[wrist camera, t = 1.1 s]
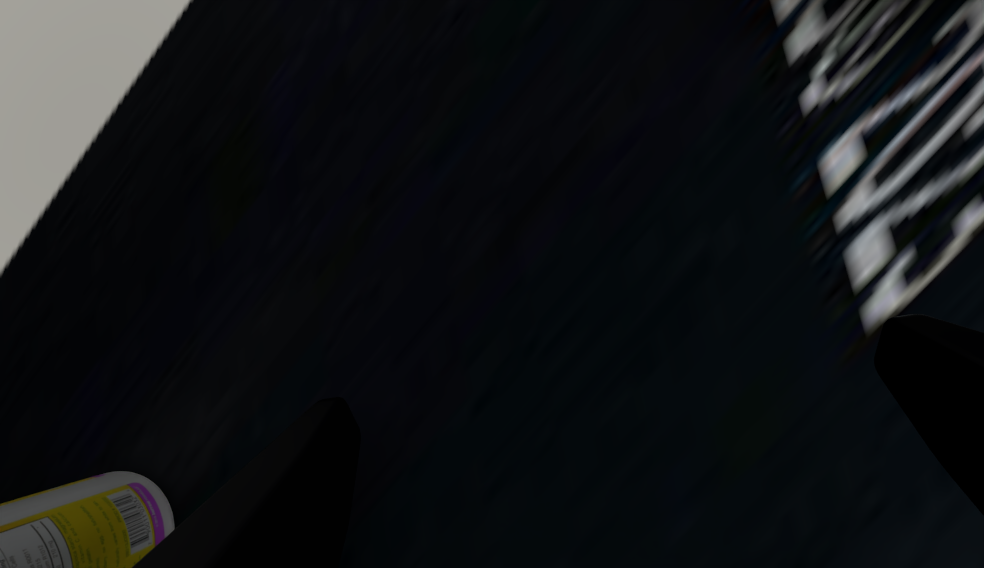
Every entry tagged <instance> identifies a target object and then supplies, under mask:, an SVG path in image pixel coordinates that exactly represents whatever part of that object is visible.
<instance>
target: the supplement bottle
mask: <svg viewBox="0 0 984 568" xmlns="http://www.w3.org/2000/svg"><path fill="white" fill-rule="evenodd" d="M174 529H175V525H174V518H173V513H172V510H171V507H170V504H169V502H168V500H167V498H166V496H165V495H164V493H163V492H162V491H161V489H160V488H159V487H158V486H157V485H156V484H155V483H154V482H152V481H151V480H149V479H148V478H146V477H144V476H142V475H140V474H137V473H133V472H127V471H115V472H109V473H104V474H101V475H97V476H93V477H90V478H86V479H83V480H79V481H76V482H72V483H69V484H65V485H62V486H59V487H56V488H52V489H49V490H46V491H42V492H39V493H35V494H32V495H29V496H25V497H22V498H18V499H15V500H12V501H8V502H5V503H2V504H0V568H132V567H133V566H134V565H135V564H136V563H137V562H138V561H140V560H141V559H142V558H143V557H144V556H145V555H146V554H147V553H148V552H150V551H151V550H152V549H153V548H154V547H155V546H156V545H157V544H159V543H160V542H161V541H162V540H163V539H164V538H165V537H166V536H168V535H169V534H170V533H171V532H172V531H173V530H174Z"/></svg>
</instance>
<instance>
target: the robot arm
mask: <svg viewBox="0 0 984 568" xmlns="http://www.w3.org/2000/svg"><path fill="white" fill-rule="evenodd" d="M874 364H875V368H876V370H877V372H878V374H879V376H880V377H881V379H882V380H883V382H884V383H885V385H886V386H887V388H888V389H889V390H890V392H891V393H892V395H893V396H894V398H895V399H896V401H897V402H898V404H899V405H900V406H901V408H902V409H903V411H904V412H905V414H906V415H907V417H908V418H909V420H910V421H911V423H912V424H913V425H914V427H915V428H916V430H917V431H918V433H919V434H920V436H921V437H922V439H923V440H924V441H925V443H926V444H927V446H928V447H929V449H930V450H931V451H932V453H933V454H934V455H935V457H936V458H937V459H938V461H939V462H940V463H941V465H942V466H943V467H944V468H945V470H946V471H947V472H948V473H949V475H950V476H951V477H952V478H953V479H954V481H955V482H956V483H957V484H958V485H959V487H960V488H961V489H962V490H963V491H964V493H965V494H966V495H967V496H968V497H969V499H970V500H971V501H972V502H973V503H974V505H975V506H976V507H977V508H978V509H979V511H980V512H981V513H982V514H983V515H984V333H982V332H979V331H976V330H972V329H969V328H966V327H963V326H959V325H956V324H953V323H949V322H946V321H943V320H939V319H936V318H933V317H930V316H926V315H922V314H912V315H905V316H898V317H893V318H890V319H888V320H887V321H886V322H885V323H884V325H883V328H882V332H881V335H880V339H879V342H878V346H877V350H876V353H875V358H874ZM360 442H361V434H360V429H359V427H358V425H357V423H356V421H355V419H354V417H353V415H352V412H351V410H350V408H349V406H348V404H347V403H346V401H345V400H344V399H343V398H340V397H336V398H329V399H322V400H320V401H318V402H316V403H315V404H314V405H313V406H312V407H311V408H310V409H309V410H307V411H306V412H305V413H304V414H303V415H302V416H301V417H300V418H298V419H297V420H296V421H295V422H294V423H293V424H292V425H291V426H290V427H288V428H287V429H286V430H285V431H284V432H283V433H282V434H281V435H279V436H278V437H277V438H276V439H275V440H274V441H273V442H272V443H271V444H269V445H268V446H267V447H266V448H265V449H264V450H263V451H262V452H260V453H259V454H258V455H257V456H256V457H255V458H254V459H253V460H251V461H250V462H249V463H248V464H247V465H246V466H245V467H244V468H243V469H241V470H240V471H239V472H238V473H237V474H236V475H235V476H234V477H232V478H231V479H230V480H229V481H228V482H227V483H226V484H225V485H224V486H222V487H221V488H220V489H219V490H218V491H217V492H216V493H215V494H213V495H212V496H211V497H210V498H209V499H208V500H207V501H206V502H204V503H203V504H202V505H201V506H200V507H199V508H198V509H197V510H196V511H194V512H193V513H192V514H191V515H190V516H189V517H188V518H187V519H185V520H184V521H183V522H182V523H181V524H180V525H179V526H178V527H176V528H175V529H174V530H173V531H172V532H171V533H170V534H169V535H168V536H166V537H165V538H164V539H163V540H162V541H161V542H160V543H159V544H157V545H156V546H155V547H154V548H153V549H152V550H151V551H150V552H148V553H147V554H146V555H145V556H144V557H143V558H142V559H141V560H140V561H138V562H137V563H136V564H135V565H134V566H133V567H132V568H338V566H339V562H340V558H341V554H342V550H343V546H344V542H345V537H346V533H347V529H348V524H349V518H350V512H351V506H352V499H353V492H354V485H355V478H356V471H357V464H358V457H359V450H360Z"/></svg>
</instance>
